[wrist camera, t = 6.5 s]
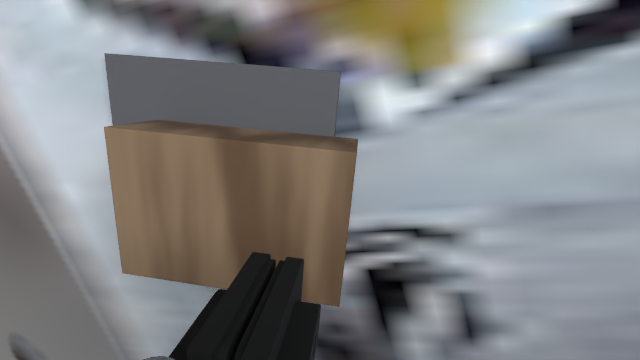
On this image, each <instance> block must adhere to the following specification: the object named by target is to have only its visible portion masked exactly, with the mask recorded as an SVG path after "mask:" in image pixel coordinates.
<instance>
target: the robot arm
mask: <svg viewBox="0 0 640 360" xmlns="http://www.w3.org/2000/svg"><path fill="white" fill-rule="evenodd" d="M303 270H304V259H301V258H294V257H286V259H285V261H283V260H280V261H279V263H278V265H277V267H276V260H275V259H271V255H270V254H266V253H259V252H253V253H252V254H251V255H250V257H249V258H248V260H247V261H246V262H245V264H244V265H243V267H242V268H241V270H240V271H239V273H238V274H237V276H236V277H235V279H234V280H233V282H232V283H231V285H230V286H229V288H228V289H227V290H223V289H219V290H218V291H217V292H216V293H215V294H214V295H213V297H212V298H211V299H210V301H209V302H208V304H207V305H206V306H205V308H204V309H203V310H202V312H201V313H200V315H199V316H198V317H197V319H196V320H195V321H194V323H193V324H192V326H191V327H190V328H189V330H188V331H187V332H186V334H185V335H184V337H183V338H182V339H181V341H180V342H179V343H178V345H177V346H176V348H175V349H174V350H173V352H172V353H171V355H170V356H169V357H165V356H158V357H150V358H147V359H144V360H314V357H315V351H316V345H317V337H318V329H319V320H320V309H321V305H320V304H314V303H307V302H301V297H302V284H303Z"/></svg>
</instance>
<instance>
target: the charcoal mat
mask: <svg viewBox="0 0 640 360" xmlns="http://www.w3.org/2000/svg"><path fill="white" fill-rule="evenodd" d="M105 61H106V70H107V79H108V87H109V96H110V105H111V114H112V122H113V126H115V125H123V124H130V123H138V122H145V121H153V120H165V121H175V122H186V123H196V124H206V125H217V126H227V127H237V128H248V129H258V130H268V131H279V132H289V133H299V134H310V135H320V136H330V137H335V127H336V117H337V106H338V96H339V85H340V74H341V72H339V71H326V70H313V69H300V68H287V67H274V66H261V65H248V64H235V63H222V62H209V61H196V60H184V59H171V58H158V57H145V56H132V55H119V54H106V53H105Z"/></svg>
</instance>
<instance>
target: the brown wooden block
mask: <svg viewBox="0 0 640 360" xmlns="http://www.w3.org/2000/svg"><path fill="white" fill-rule="evenodd" d="M104 132H105V139H106V147H107V155H108V163H109V171H110V179H111V187H112V195H113V203H114V211H115V219H116V226H117V234H118V242H119V250H120V258H121V266H122V273H125V274H132V275H138V276H145V277H151V278H157V279H164V280H170V281H177V282H183V283H190V284H196V285H203V286H209V287H215V288H222V289H228V288H229V286H230V285H231V283H232V282H233V280H234V279H235V277H236V276H237V274H238V273H239V271H240V270H241V268H242V267H243V265H244V264H245V262H246V261H247V260H248V258H249V257H250V255H251V254H252V253H253V252H259V253H266V254H270V255H271V259H275V260H276V267H277V265H278V263H279V261H280V260H283V261H285V259H286V257H294V258H301V259H304V270H303V284H302V297H301V301H305V302H312V303H318V304H325V305H331V306H338V307H339V305H340V296H341V287H342V278H343V270H344V261H345V252H346V243H347V234H348V226H349V217H350V208H351V199H352V191H353V182H354V173H355V164H356V156H357V144H358V139H351V138H341V137H330V136H320V135H310V134H299V133H289V132H279V131H268V130H258V129H248V128H237V127H227V126H217V125H206V124H196V123H186V122H175V121H165V120H153V121H145V122H138V123H130V124H123V125H115V126H108V127H104Z"/></svg>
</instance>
